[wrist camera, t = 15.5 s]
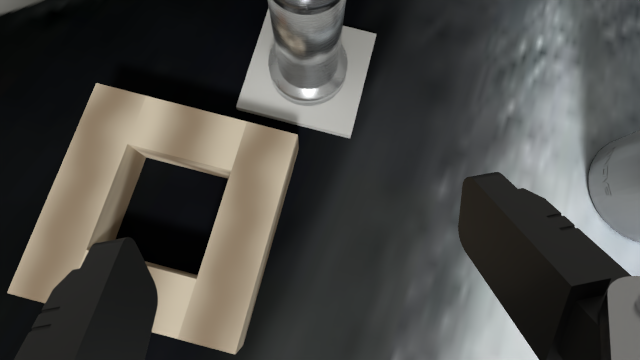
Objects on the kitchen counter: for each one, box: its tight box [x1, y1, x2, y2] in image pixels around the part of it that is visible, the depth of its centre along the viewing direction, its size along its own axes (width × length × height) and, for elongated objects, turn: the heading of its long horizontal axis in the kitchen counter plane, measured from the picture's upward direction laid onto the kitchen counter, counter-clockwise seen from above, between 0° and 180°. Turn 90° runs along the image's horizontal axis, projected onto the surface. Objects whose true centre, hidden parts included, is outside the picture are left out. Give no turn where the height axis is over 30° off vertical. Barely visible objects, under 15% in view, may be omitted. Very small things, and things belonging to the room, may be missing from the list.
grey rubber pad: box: [236, 8, 376, 138], centre depth 35 cm, size 10×10×1 cm
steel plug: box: [268, 0, 348, 106], centre depth 28 cm, size 7×7×12 cm
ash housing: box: [7, 83, 299, 354], centre depth 30 cm, size 16×16×4 cm
